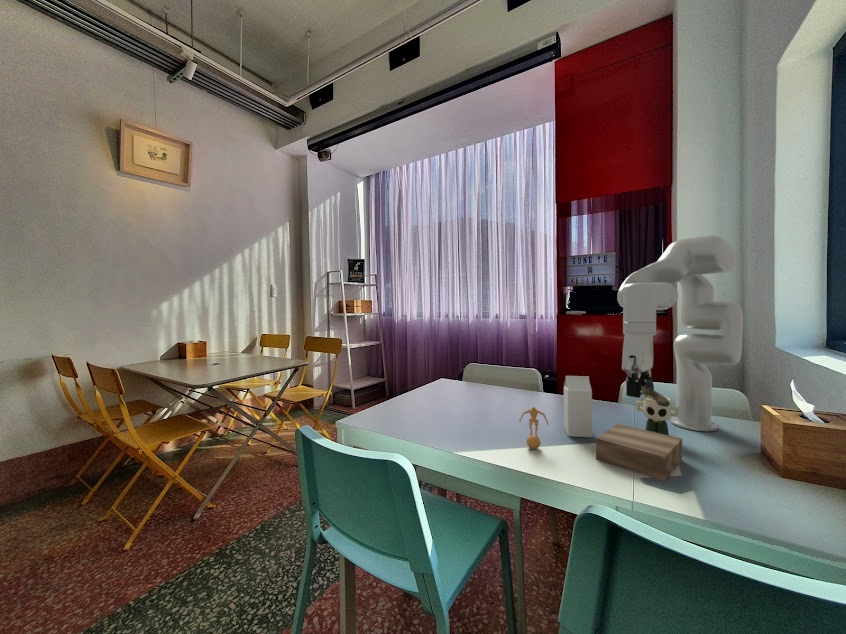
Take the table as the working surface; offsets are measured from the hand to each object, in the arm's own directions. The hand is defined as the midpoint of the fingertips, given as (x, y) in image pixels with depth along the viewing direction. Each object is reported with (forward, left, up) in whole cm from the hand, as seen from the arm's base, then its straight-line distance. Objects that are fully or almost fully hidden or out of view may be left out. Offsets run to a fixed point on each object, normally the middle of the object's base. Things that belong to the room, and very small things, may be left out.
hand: (638, 393), depth 93 cm
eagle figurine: (+1, +3, -2) cm, 3 cm away
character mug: (-20, -1, -19) cm, 27 cm away
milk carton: (-7, -20, -19) cm, 28 cm away
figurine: (+13, -24, -19) cm, 33 cm away
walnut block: (0, 0, -18) cm, 18 cm away
